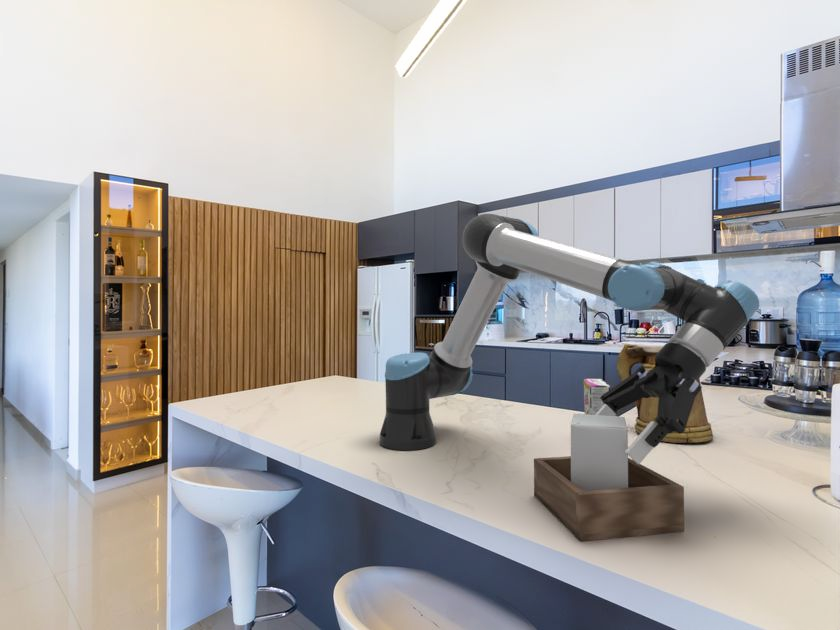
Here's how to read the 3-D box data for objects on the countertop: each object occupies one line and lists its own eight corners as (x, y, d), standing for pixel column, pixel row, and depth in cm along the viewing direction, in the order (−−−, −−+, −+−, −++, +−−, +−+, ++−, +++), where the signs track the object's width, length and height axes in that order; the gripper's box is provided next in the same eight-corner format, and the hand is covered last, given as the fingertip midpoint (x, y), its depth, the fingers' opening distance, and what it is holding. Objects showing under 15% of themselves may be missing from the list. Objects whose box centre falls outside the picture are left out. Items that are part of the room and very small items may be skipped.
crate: (580, 541, 69) (579, 494, 69) (534, 495, 86) (533, 458, 86) (684, 531, 72) (683, 486, 72) (619, 489, 89) (619, 453, 89)
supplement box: (629, 522, 73) (628, 428, 73) (570, 513, 76) (569, 423, 76) (626, 500, 81) (626, 415, 81) (573, 493, 85) (572, 412, 85)
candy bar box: (583, 439, 124) (582, 378, 124) (603, 440, 123) (602, 378, 123) (590, 451, 113) (589, 385, 113) (611, 452, 112) (611, 385, 112)
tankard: (714, 449, 114) (713, 348, 113) (612, 436, 126) (611, 345, 126) (712, 432, 129) (711, 343, 129) (621, 422, 141) (621, 341, 141)
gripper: (763, 380, 69) (672, 487, 67) (654, 362, 93) (585, 440, 91) (731, 345, 68) (638, 453, 66) (630, 336, 92) (560, 414, 90)
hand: (607, 445), depth 78 cm, fingers open, 13 cm apart
